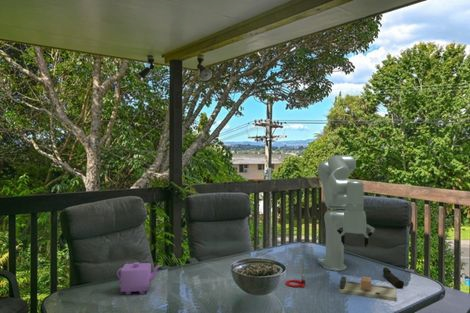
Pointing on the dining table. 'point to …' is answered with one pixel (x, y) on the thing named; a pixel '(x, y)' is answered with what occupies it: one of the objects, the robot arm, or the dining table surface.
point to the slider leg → (366, 283)
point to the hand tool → (392, 278)
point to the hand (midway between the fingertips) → (354, 245)
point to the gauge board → (375, 291)
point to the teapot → (136, 277)
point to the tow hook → (302, 282)
